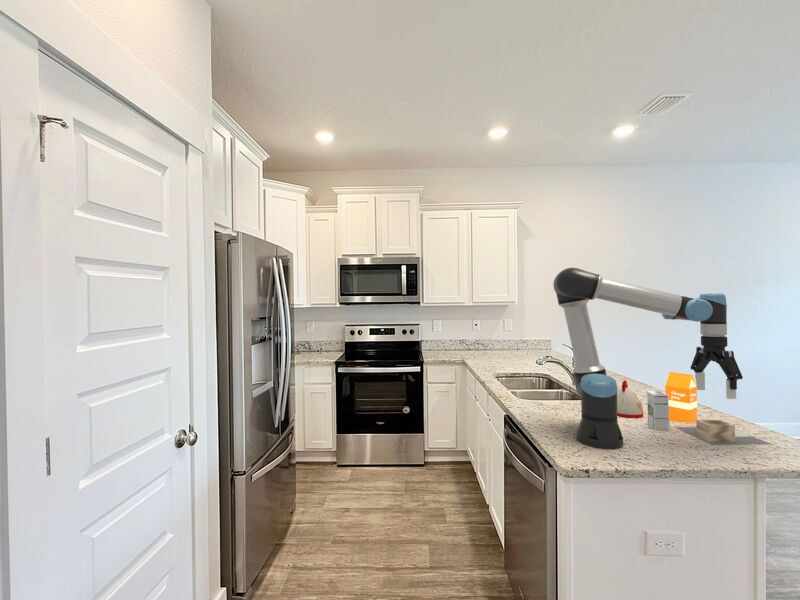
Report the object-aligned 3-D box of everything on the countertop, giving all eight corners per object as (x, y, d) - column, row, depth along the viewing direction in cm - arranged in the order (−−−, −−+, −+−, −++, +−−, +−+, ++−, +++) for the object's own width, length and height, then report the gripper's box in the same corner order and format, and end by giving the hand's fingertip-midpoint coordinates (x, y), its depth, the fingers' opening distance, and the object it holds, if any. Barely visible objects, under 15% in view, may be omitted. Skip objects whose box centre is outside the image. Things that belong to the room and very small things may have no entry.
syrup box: (670, 431, 149) (669, 394, 149) (653, 430, 151) (652, 393, 151) (663, 427, 155) (662, 391, 155) (647, 426, 156) (646, 390, 156)
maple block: (709, 442, 137) (709, 425, 137) (696, 436, 143) (696, 419, 143) (735, 441, 137) (734, 424, 137) (721, 436, 143) (720, 419, 143)
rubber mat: (712, 446, 134) (712, 444, 134) (673, 428, 153) (673, 426, 153) (772, 445, 134) (772, 443, 134) (726, 428, 153) (726, 426, 153)
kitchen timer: (604, 414, 173) (604, 381, 173) (611, 408, 183) (611, 376, 184) (640, 420, 164) (640, 385, 164) (645, 413, 174) (645, 380, 175)
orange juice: (689, 424, 158) (688, 375, 158) (665, 419, 165) (664, 372, 165) (697, 421, 162) (696, 373, 162) (673, 416, 169) (673, 370, 170)
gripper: (755, 338, 127) (757, 402, 127) (697, 332, 152) (699, 386, 152) (732, 338, 128) (734, 402, 127) (678, 333, 152) (680, 386, 152)
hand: (715, 394), depth 140 cm, fingers open, 13 cm apart
